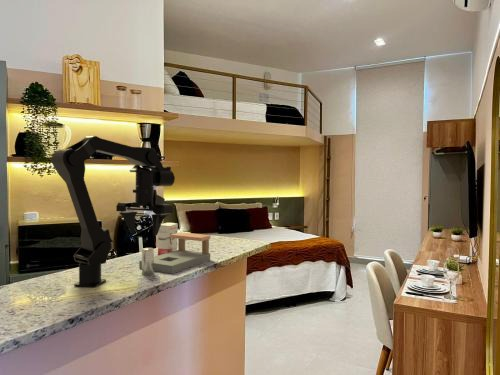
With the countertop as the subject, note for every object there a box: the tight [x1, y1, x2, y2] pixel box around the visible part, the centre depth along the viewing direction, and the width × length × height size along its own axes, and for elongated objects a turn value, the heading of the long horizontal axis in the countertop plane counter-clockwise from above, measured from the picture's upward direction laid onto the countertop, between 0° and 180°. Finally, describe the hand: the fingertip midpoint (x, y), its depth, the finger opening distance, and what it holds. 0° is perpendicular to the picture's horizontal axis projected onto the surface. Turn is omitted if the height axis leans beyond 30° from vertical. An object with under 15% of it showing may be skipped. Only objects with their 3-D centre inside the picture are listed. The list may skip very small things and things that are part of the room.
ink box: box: [157, 222, 179, 256], centre depth 150 cm, size 9×5×12 cm, turn 168°
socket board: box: [138, 232, 211, 274], centre depth 133 cm, size 22×14×9 cm, turn 152°
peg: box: [141, 247, 155, 276], centre depth 119 cm, size 4×4×8 cm
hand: (144, 234), depth 122 cm, fingers open, 9 cm apart
